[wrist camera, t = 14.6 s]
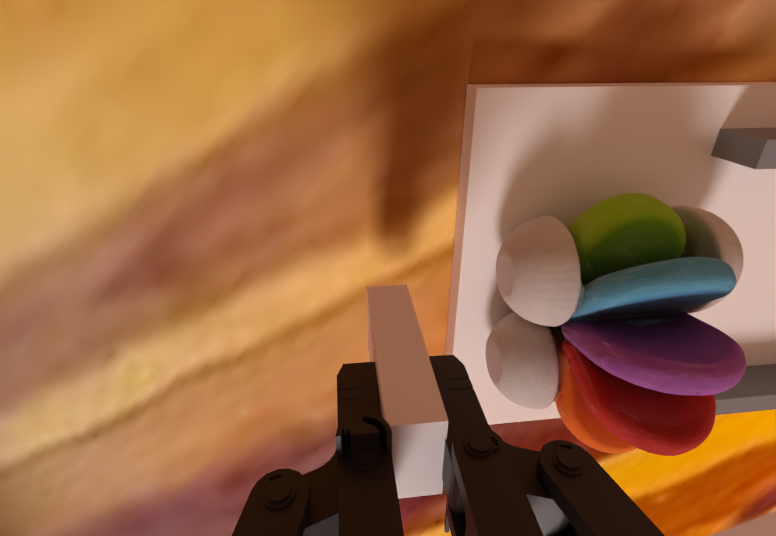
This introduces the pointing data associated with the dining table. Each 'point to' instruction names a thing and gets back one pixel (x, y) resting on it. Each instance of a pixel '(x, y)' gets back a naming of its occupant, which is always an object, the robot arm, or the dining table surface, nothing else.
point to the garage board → (611, 178)
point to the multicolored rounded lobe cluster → (619, 322)
